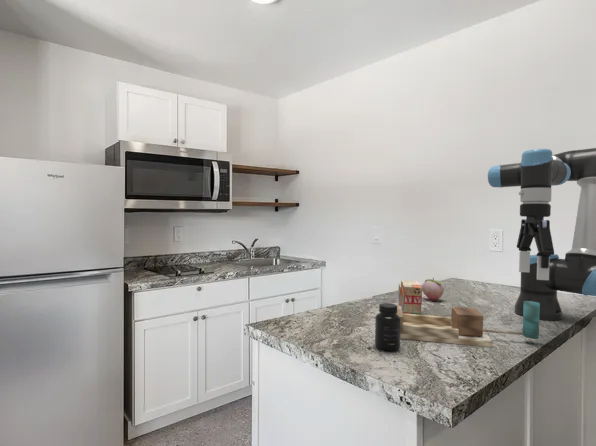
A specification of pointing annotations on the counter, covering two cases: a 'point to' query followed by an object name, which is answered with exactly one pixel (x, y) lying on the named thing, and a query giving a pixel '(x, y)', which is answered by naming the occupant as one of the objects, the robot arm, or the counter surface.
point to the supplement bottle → (387, 328)
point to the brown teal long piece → (472, 325)
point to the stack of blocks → (410, 297)
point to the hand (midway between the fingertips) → (532, 275)
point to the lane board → (436, 330)
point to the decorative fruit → (433, 289)
